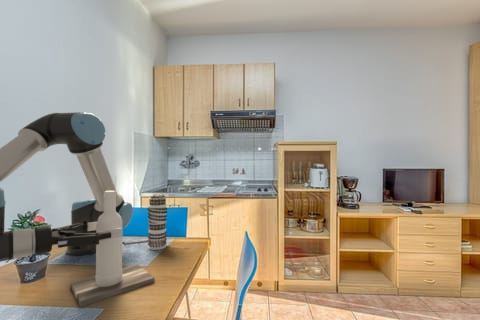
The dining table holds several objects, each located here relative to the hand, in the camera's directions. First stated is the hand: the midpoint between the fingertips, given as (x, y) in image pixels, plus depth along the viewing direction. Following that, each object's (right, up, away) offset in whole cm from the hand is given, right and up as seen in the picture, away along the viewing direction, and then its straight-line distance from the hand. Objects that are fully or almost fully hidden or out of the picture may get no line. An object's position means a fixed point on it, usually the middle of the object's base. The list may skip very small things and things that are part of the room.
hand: (114, 227), depth 86 cm
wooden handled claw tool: (-6, -19, +42) cm, 47 cm away
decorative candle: (+2, -19, +37) cm, 41 cm away
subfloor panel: (0, -19, 0) cm, 19 cm away
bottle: (-1, -18, -1) cm, 18 cm away
